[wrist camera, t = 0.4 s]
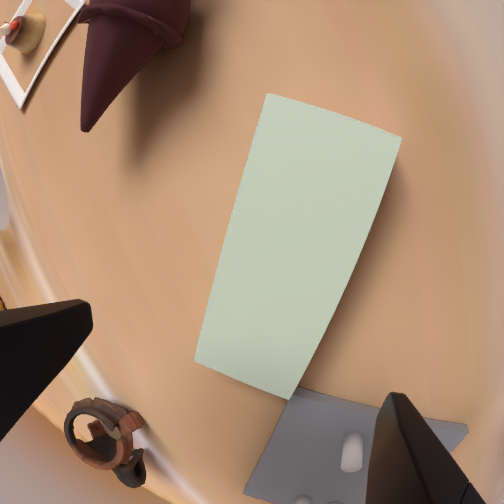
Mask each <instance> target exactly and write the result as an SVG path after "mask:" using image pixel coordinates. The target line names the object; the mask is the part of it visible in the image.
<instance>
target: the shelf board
mask: <svg viewBox="0 0 504 504" xmlns="http://www.w3.org/2000/svg"><path fill="white" fill-rule="evenodd" d="M401 141H402V138H401V137H399V136H397V135H394V134H392V133H389V132H387V131H384V130H382V129H379V128H377V127H374V126H372V125H369V124H366V123H364V122H361V121H358V120H355V119H352V118H350V117H347V116H344V115H341V114H338V113H335V112H332V111H329V110H326V109H323V108H320V107H316V106H313V105H310V104H306V103H303V102H300V101H296V100H293V99H289V98H285V97H282V96H278V95H274V94H270V93H267V95H266V98H265V102H264V105H263V108H262V112H261V115H260V118H259V121H258V125H257V128H256V131H255V135H254V138H253V142H252V145H251V148H250V152H249V155H248V159H247V162H246V165H245V169H244V172H243V176H242V179H241V183H240V186H239V190H238V193H237V197H236V200H235V204H234V208H233V211H232V215H231V218H230V222H229V226H228V229H227V233H226V237H225V240H224V244H223V248H222V251H221V255H220V259H219V263H218V266H217V270H216V274H215V278H214V281H213V285H212V289H211V293H210V297H209V301H208V305H207V308H206V312H205V316H204V320H203V324H202V328H201V332H200V336H199V340H198V344H197V348H196V352H195V357H194V361H195V362H198V363H200V364H202V365H204V366H206V367H208V368H211V369H213V370H215V371H217V372H220V373H222V374H224V375H227V376H229V377H231V378H234V379H236V380H238V381H241V382H243V383H246V384H248V385H250V386H253V387H255V388H258V389H260V390H263V391H266V392H268V393H271V394H273V395H276V396H279V397H281V398H284V399H287V400H289V399H290V397H291V396H292V394H293V392H294V390H295V388H296V387H297V385H298V383H299V381H300V379H301V377H302V376H303V374H304V372H305V370H306V368H307V366H308V364H309V362H310V360H311V358H312V356H313V354H314V353H315V351H316V349H317V347H318V345H319V343H320V341H321V339H322V337H323V335H324V333H325V331H326V328H327V326H328V324H329V322H330V320H331V318H332V316H333V314H334V312H335V310H336V307H337V305H338V303H339V301H340V299H341V297H342V294H343V292H344V290H345V288H346V286H347V283H348V281H349V279H350V276H351V274H352V272H353V270H354V267H355V265H356V263H357V260H358V258H359V255H360V253H361V251H362V248H363V246H364V243H365V241H366V238H367V236H368V233H369V231H370V228H371V226H372V223H373V221H374V218H375V215H376V213H377V210H378V207H379V205H380V202H381V199H382V197H383V194H384V191H385V188H386V185H387V183H388V180H389V177H390V174H391V171H392V168H393V165H394V162H395V159H396V156H397V153H398V150H399V147H400V144H401Z"/></svg>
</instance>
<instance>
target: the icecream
mask: <svg viewBox="0 0 504 504" xmlns="http://www.w3.org/2000/svg"><path fill="white" fill-rule="evenodd" d="M189 11H190V0H90V3H89V5H88V6H85V7H82V8H81V11H80V14H79V15H78V17H77V22H78V23H79V24H80V23H88V24H89V26H88V33H87V41H86V49H85V58H84V68H83V81H82V96H81V131H83V132H89V131H90V130H91V129H92V127H93V126H94V125H95V124H96V122H97V121H98V120H99V118H100V117H101V116H102V114H103V113H104V112H105V110H106V109H107V108H108V106H109V105H110V104H111V103H112V101H113V100H114V99H115V98H116V97H117V95H118V94H119V93H120V92H121V91H122V90H123V88H124V87H125V86H126V85H127V84H128V83H129V81H130V80H131V79H132V78H133V77H134V76H135V75H136V74H137V73H138V71H139V70H140V69H141V68H142V67H143V66H144V65H145V64H146V63H147V62H148V61H149V60H150V59H151V58H152V57H153V56H154V55H155V54H156V53H157V52H158V51H159V50H160V49H161V48H162V47H163V48H165V49H173V48H176V47H177V46H179V45H182V44H184V43H183V41H182V39H181V38H180V35H181V33H182V32H183V31H184V30H185V26H186V22H187V21H188V19H189V18H190V12H189Z"/></svg>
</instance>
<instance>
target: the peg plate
mask: <svg viewBox="0 0 504 504" xmlns="http://www.w3.org/2000/svg"><path fill="white" fill-rule="evenodd" d="M379 411H380V408H375V407H371V406H367V405H363V404H359V403H355V402H351V401H347V400H343V399H339V398H336V397H332V396H328V395H325V394H321V393H318V392H314V391H311V390H308V389H304V388H301V387H298V386H297V387H296V388H295V390H294V392H293V394H292V396H291V397H290V399H289V400H287V403H286V405H285V407H284V409H283V412H282V414H281V416H280V418H279V420H278V422H277V424H276V427H275V429H274V431H273V433H272V435H271V437H270V439H269V441H268V443H267V445H266V447H265V449H264V451H263V453H262V455H261V457H260V459H259V461H258V463H257V465H256V467H255V469H254V471H253V473H252V475H251V477H250V479H249V481H248V482H247V484H246V486H245V488H244V491H243V493H242V494H245V495H248V496H251V497H254V498H257V499H261V500H264V501H268V502H271V503H275V504H365V502H366V490H367V477H368V467H369V461H370V455H371V449H372V443H373V437H374V430H375V423H376V418H377V415H378V413H379ZM424 420H425V421H426V422H427V424H428V425H429V426H430V428H431V429H432V430H433V432H434V433H435V434H436V436H437V437H438V438H439V440H440V441H441V442H442V444H443V445H444V447H445V448H446V449H447V451H448V452H449V453H451V452H452V451H453V450H454V448H455V447H456V446H457V445H458V444H459V443H460V442H461V441H462V440H463V439H464V437H465V436H466V435H467V434H468V433H469V431H468V428H467V424H460V423H453V422H447V421H440V420H435V419H429V418H424Z"/></svg>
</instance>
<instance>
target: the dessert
mask: <svg viewBox="0 0 504 504" xmlns="http://www.w3.org/2000/svg"><path fill="white" fill-rule="evenodd" d="M65 1H66V2H67V3H68V4H69V5H70V6H72V7H73V8H74V9H75V11H74V13H73V14H72V16H71V17H70V18H69V20H68V21H67V23H66V24H65V26H64V27H63V29H62V30H61V32H60V33H59V35H58V36H57V38H56V39H55V41H54V42H53V44H52V46H51V47H50V49H49V51H48V52H47V54H46V56H45V57H44V59H43V61H42V63H41V64H40V66H39V68H38V70H37V72H36V73H35V75H34V77H33V79H32V81H31V83H30V85H29V87H28V89H27V91H26V92H25V93H24V91H23V90H22V88H21V86H20V85H19V83H18V82H17V80H16V78H15V77H14V75H13V73H12V72H11V70H10V68H9V66H8V65H7V63H6V61H5V59H4V58H3V56H2V52H3V50H4V48H5V46H6V45H9V46H11V47H13V48H15V49H17V50H19V51H20V52H22V53H24V54H28V53H30V52H31V51H33V50H34V49H35V47H36V46H37V45H38V43H39V42H40V40H41V38H42V36H43V33H44V30H45V27H46V17H45V15H44V14H33V15H24V13H25V11H26V10H27V8H28V7H29V5H30V3H31V2H32V0H23V2H22V4H21V5H20V7H19V8H18V10H17V12H16V13H15V15H14V17H13V19H12V20H11V22H10V23H7V22H5V23H6V24H4V25H3V26H2V27H1V28H0V32H1V34H2V35H3V37H2V39H1V41H0V76H1V78H2V80H3V82H4V84H5V86H6V87H7V89H8V91H9V93H10V95H11V96H12V98H13V100H14V102H15V103H16V105H17V107H18V109H19V110H21V108H22V106H23V104H24V102H25V100H26V98H27V96H28V94H29V92H30V90H31V88H32V86H33V84H34V82H35V80H36V78H37V76H38V75H39V73H40V71H41V69H42V67H43V66H44V64H45V62H46V60H47V59H48V57H49V55H50V54H51V52H52V50H53V49H54V47H55V46H56V44H57V42H58V41H59V39H60V38H61V36H62V35H63V33H64V32H65V30H66V29H67V27H68V26H69V24H70V23H71V21H72V20H73V19H74V17H75V16H76V14H77V13H78V12H79V10H80V9H81V8H82V6H83V5H84V4H85V0H65Z"/></svg>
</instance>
